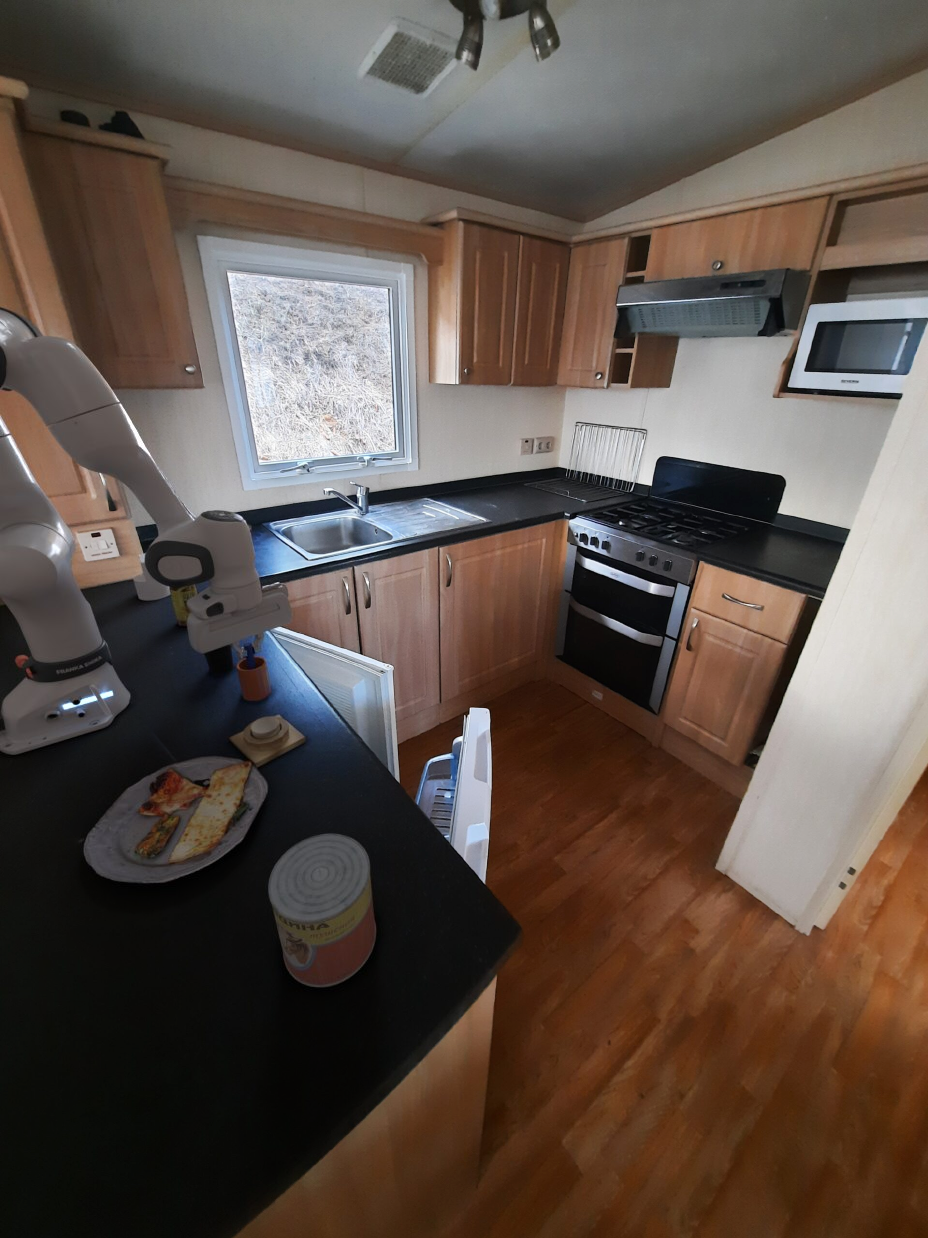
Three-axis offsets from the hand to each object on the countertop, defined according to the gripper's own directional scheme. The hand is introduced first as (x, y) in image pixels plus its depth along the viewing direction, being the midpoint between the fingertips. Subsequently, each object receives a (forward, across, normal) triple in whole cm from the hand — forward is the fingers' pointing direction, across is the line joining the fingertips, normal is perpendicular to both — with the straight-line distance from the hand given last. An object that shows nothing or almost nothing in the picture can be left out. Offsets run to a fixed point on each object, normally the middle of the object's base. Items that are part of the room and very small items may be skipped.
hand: (249, 654), depth 105 cm
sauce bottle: (+10, -4, -46) cm, 47 cm away
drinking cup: (+10, +1, -15) cm, 18 cm away
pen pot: (+10, 0, 0) cm, 10 cm away
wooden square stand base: (+10, +6, +16) cm, 20 cm away
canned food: (+10, +19, +56) cm, 60 cm away
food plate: (+10, +24, +24) cm, 35 cm away
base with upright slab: (+10, -4, -73) cm, 74 cm away
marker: (+10, 0, 0) cm, 10 cm away
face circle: (+7, +6, +16) cm, 19 cm away
